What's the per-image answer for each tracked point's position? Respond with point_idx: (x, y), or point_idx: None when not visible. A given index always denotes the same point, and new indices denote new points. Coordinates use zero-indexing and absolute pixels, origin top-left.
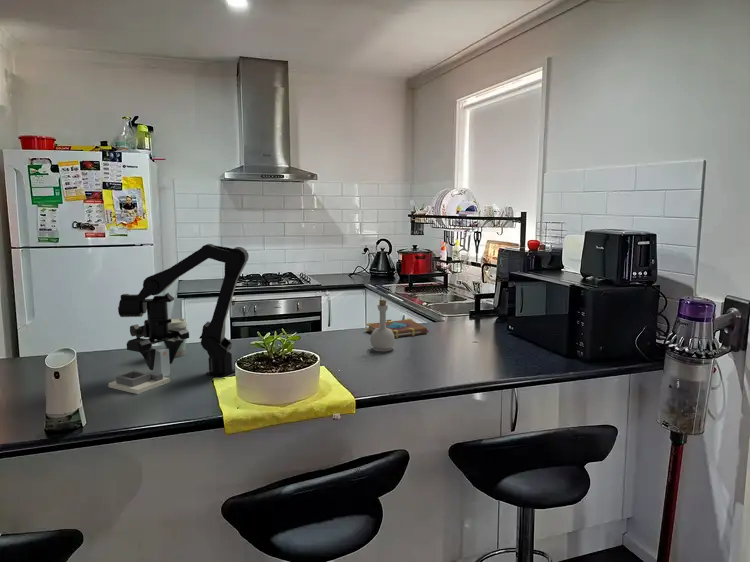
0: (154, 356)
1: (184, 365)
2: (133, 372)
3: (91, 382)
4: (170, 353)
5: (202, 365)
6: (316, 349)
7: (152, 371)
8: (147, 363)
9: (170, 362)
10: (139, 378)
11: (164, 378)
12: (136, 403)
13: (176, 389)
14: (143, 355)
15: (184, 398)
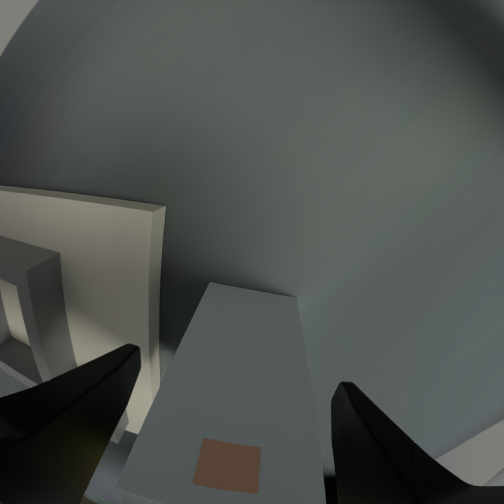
0: (81, 484)
1: (457, 335)
2: (18, 283)
3: (22, 37)
4: (353, 477)
5: (445, 406)
6: (498, 475)
7: (200, 302)
8: (82, 374)
9: (333, 409)
10: (13, 373)
11: (138, 425)
12: (6, 388)
13: (123, 455)
14: (5, 409)
15: (99, 473)
